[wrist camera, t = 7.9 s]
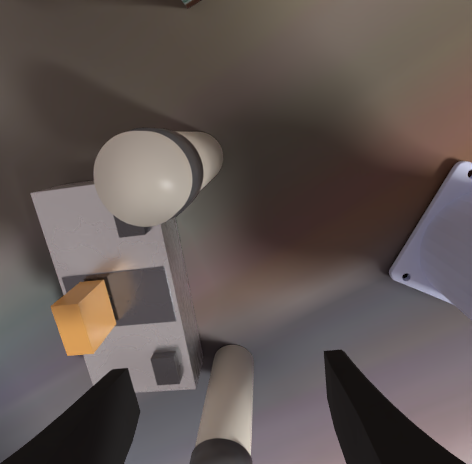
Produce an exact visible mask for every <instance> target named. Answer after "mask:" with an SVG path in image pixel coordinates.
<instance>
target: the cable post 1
mask: <svg viewBox="0 0 472 464" xmlns="http://www.w3.org/2000/svg"><path fill="white" fill-rule="evenodd" d="M222 164H223V151H222V148H221V146H220V144H219V143H218V141H217V140H216V139H215V138H214V137H212V136H211V135H209V134H207V133H204V132H182V131H172V130H169V129H162V128H137V129H132V130H130V131H127V132H124V133H121V134H118V135H116V136H114V137H113V138H111V139H110V140H109V141H107V142H106V143H105V144H104V146H103V147H102V148H101V150H100V151H99V153H98V155H97V157H96V160H95V164H94V173H93V176H94V184H95V188H96V191H97V194H98V196H99V198H100V200H101V201H102V203H103V205H104V206H105V207H106V208H107V210H108V211H109V212H110V213H111V214H113V215H114V216H115V217H117V218H118V219H120V220H121V221H123V222H125V223H128V224H131V225H134V226H140V227H150V226H156V225H159V224H162V223H164V222H166V221H168V220H170V219H172V218H175V217H176V216H177V215H179V214H180V213H181V212H182V211H183V210H184V209H185V208H186V207H187V206H188V205H189V204H190V203H191V202H192V201H193V200H194V199H195V198H196V197H197V195H198V193H199V191H200V190H201V189H202V188H203V187H204V186H206V185H207V184H208V183H209V182H210V181H211V180H212V179H213V178H214V177H215V176H216V175H217V174H218V173H219V171H220V170H221V167H222Z"/></svg>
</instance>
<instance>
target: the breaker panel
mask: <svg viewBox="0 0 472 464" xmlns="http://www.w3.org/2000/svg"><path fill="white" fill-rule="evenodd" d="M30 194H31V197H32V200H33V203H34V206H35V209H36V212H37V215H38V218H39V221H40V224H41V227H42V230H43V234H44V237H45V240H46V243H47V246H48V249H49V252H50V255H51V258H52V261H53V264H54V267H55V270H56V273H57V276H58V279H59V282H60V285H61V289H62V292H63V295H65V294H66V293H67V292H69V291H70V290H71V289H72V288H73V287H75V286H76V285H77V284H78V283H79V282H85V281H95V280H104V282H105V285H106V289H107V292H108V296H109V299H110V303H111V306H112V310H113V313H114V317H115V320H116V325H115V326H114V328H113V329H112V330H111V332H110V333H109V334H108V336H107V337H106V338H105V340H104V341H103V342H102V344H101V345H100V346H99V347H98V349H97V350H96V351H95V353H94V354H84V355H83V356H84V359H85V362H86V365H87V368H88V371H89V374H90V377H91V380H92V383H93V386H94V385H95V384H96V383H97V382H98V381H99V380H100V379H101V378H102V377H104V376H105V375H106V374H107V373H108V372H109V371H111V370H112V369H120V368H128V370H129V374H130V377H131V381H132V384H133V388H134V391H135V392H151V391H169V390H186V389H196V387H197V383H198V379H199V375H200V371H201V367H202V364H203V360H204V357H203V352H202V347H201V342H200V337H199V332H198V327H197V322H196V317H195V312H194V307H193V302H192V297H191V292H190V287H189V282H188V277H187V272H186V267H185V262H184V257H183V252H182V247H181V242H180V237H179V232H178V227H177V222H176V217H175V218H172V219H170V220H168V221H166V222H164V223H162V224H159V225H156V226H150V227H140V226H134V225H131V224H128V223H125V222H123V221H121V220H120V219H118V218H117V217H115V216H114V215H113V214H111V213H110V212H109V211H108V210H107V208H106V207H105V206H104V205H103V203H102V201H101V200H100V198H99V196H98V194H97V191H96V188H95V184H94V180H93V181H86V182H79V183H71V184H64V185H59V186H56V187H52V188H48V189H44V190H40V191H36V192H33V193H30Z"/></svg>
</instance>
